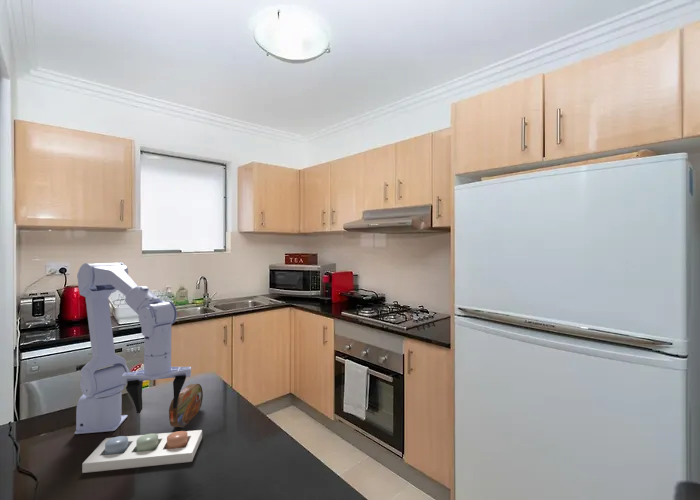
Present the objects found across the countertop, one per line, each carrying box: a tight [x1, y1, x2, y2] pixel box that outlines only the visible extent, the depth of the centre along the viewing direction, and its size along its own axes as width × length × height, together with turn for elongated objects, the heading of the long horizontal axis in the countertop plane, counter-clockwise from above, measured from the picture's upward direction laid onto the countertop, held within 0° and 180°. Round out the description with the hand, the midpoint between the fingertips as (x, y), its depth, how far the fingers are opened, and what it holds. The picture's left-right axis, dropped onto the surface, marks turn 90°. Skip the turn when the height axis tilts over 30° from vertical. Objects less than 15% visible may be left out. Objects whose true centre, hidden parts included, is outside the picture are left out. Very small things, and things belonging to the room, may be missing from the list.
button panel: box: [81, 429, 203, 474], centre depth 81 cm, size 22×10×2 cm, turn 101°
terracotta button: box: [167, 430, 188, 449], centre depth 82 cm, size 4×4×2 cm
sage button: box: [136, 433, 158, 452], centre depth 81 cm, size 4×4×2 cm
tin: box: [168, 383, 204, 428], centre depth 97 cm, size 15×3×8 cm, turn 179°
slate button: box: [105, 435, 128, 455], centre depth 80 cm, size 4×4×2 cm
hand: (157, 409), depth 83 cm, fingers open, 7 cm apart
